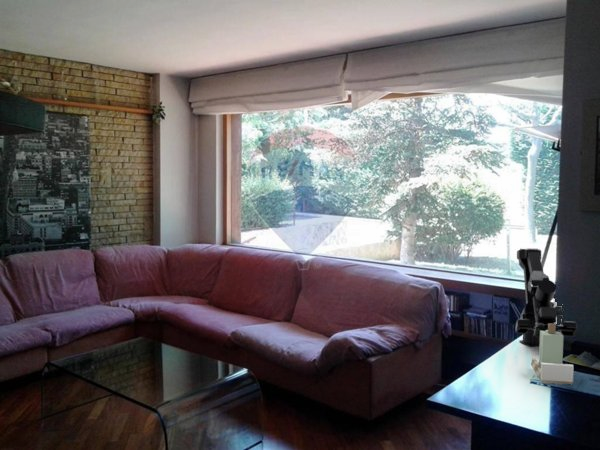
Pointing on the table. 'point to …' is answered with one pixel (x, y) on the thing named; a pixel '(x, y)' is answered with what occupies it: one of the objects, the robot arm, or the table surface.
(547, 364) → the wall
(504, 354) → the table surface
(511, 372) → the table surface
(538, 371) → the birch rail
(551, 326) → the sliding block
